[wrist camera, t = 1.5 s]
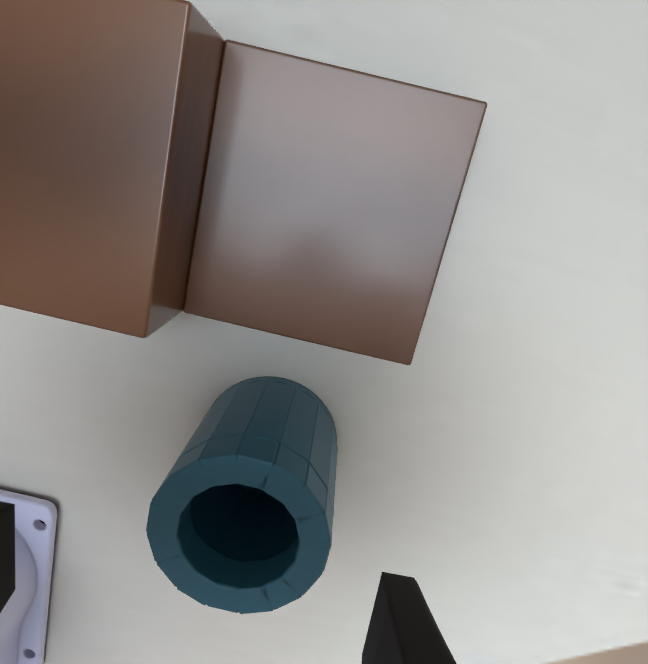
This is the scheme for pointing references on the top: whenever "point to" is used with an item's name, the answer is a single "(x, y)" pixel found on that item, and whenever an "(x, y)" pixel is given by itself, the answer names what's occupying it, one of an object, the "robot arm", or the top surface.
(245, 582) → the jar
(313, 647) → the top surface
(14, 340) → the top surface
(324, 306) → the step shelf
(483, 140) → the top surface
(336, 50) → the top surface
